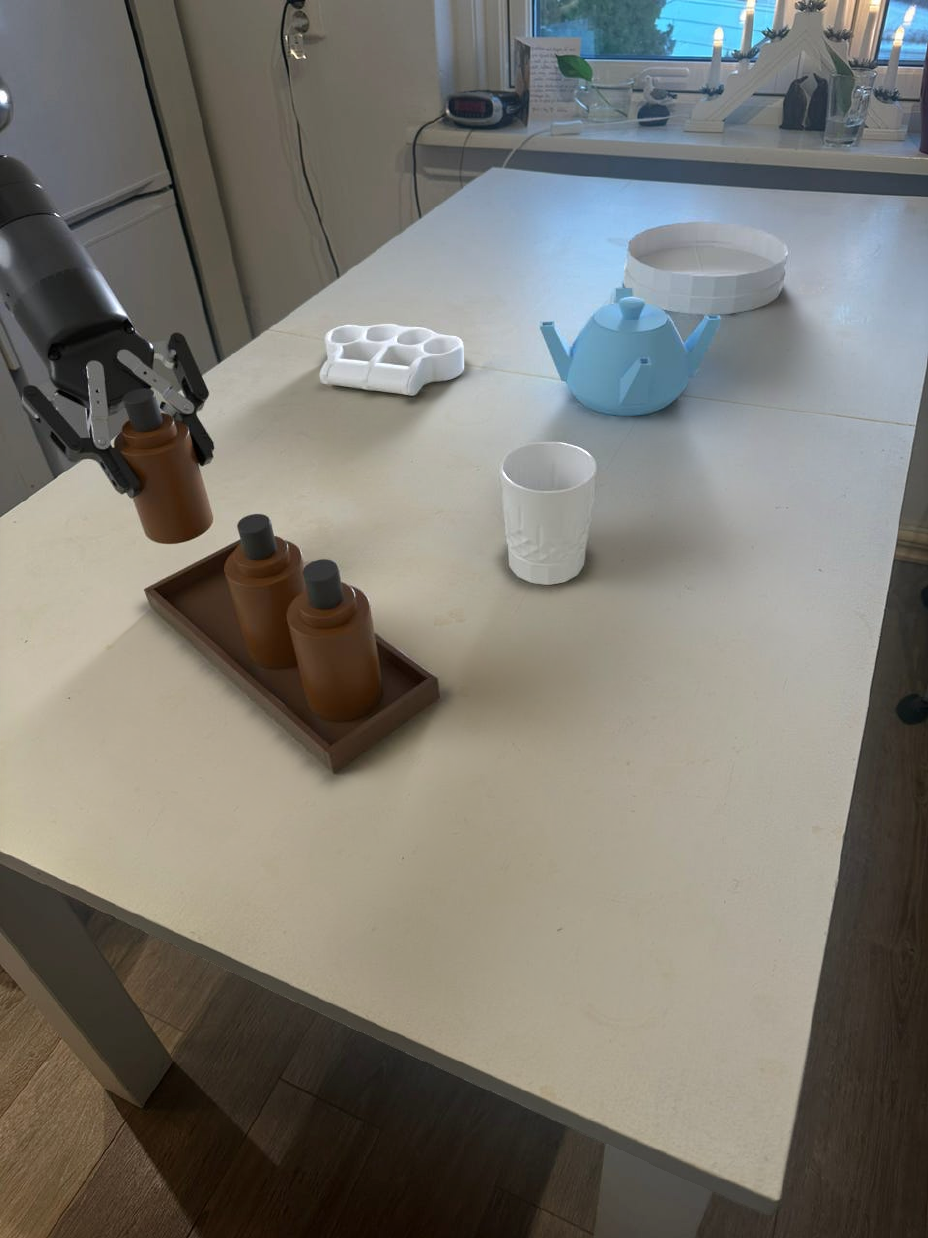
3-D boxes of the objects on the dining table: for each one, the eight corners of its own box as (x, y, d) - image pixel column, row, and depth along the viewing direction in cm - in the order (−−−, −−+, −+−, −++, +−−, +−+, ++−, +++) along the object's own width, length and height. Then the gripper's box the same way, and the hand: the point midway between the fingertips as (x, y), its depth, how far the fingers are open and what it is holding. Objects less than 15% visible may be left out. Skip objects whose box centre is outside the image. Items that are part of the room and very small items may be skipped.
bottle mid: (257, 678, 68) (222, 556, 60) (240, 633, 72) (205, 513, 64) (328, 655, 70) (303, 532, 62) (308, 612, 74) (282, 492, 66)
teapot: (720, 389, 101) (735, 297, 94) (639, 439, 93) (649, 342, 86) (615, 352, 109) (622, 264, 102) (534, 394, 102) (535, 303, 95)
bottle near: (319, 732, 63) (290, 608, 55) (297, 681, 67) (267, 558, 60) (394, 706, 65) (376, 581, 57) (368, 658, 69) (348, 535, 61)
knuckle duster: (298, 388, 106) (350, 338, 116) (436, 406, 101) (477, 353, 111) (293, 362, 104) (346, 313, 114) (434, 379, 99) (477, 327, 109)
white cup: (484, 567, 78) (480, 471, 71) (536, 526, 82) (537, 432, 76) (556, 602, 74) (560, 503, 67) (607, 556, 78) (615, 459, 72)
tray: (150, 607, 76) (143, 589, 75) (248, 555, 81) (244, 536, 80) (333, 774, 61) (329, 755, 60) (440, 697, 66) (438, 678, 65)
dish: (768, 254, 132) (774, 219, 128) (796, 314, 115) (804, 275, 112) (619, 256, 134) (622, 222, 131) (626, 315, 118) (629, 277, 114)
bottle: (174, 552, 72) (131, 421, 64) (130, 530, 74) (83, 401, 66) (227, 518, 75) (192, 389, 67) (183, 497, 78) (144, 371, 70)
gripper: (-37, 295, 62) (94, 499, 63) (146, 241, 69) (260, 425, 70) (-34, 345, 68) (85, 530, 70) (133, 291, 76) (238, 459, 77)
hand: (172, 476), depth 70 cm, fingers closed on bottle, 6 cm apart
